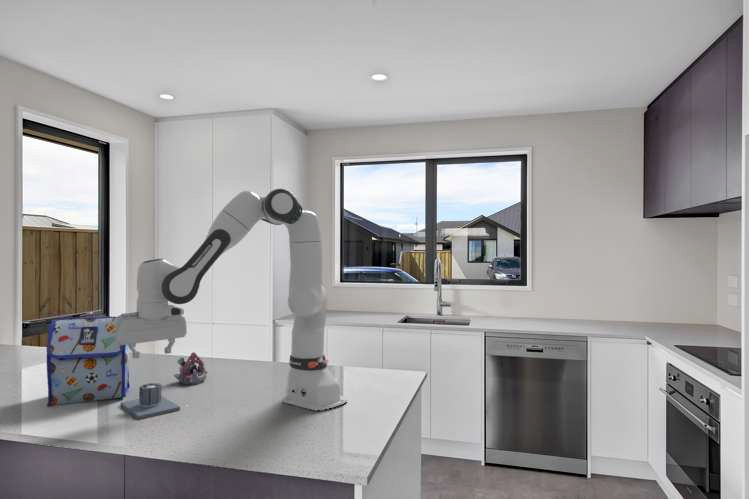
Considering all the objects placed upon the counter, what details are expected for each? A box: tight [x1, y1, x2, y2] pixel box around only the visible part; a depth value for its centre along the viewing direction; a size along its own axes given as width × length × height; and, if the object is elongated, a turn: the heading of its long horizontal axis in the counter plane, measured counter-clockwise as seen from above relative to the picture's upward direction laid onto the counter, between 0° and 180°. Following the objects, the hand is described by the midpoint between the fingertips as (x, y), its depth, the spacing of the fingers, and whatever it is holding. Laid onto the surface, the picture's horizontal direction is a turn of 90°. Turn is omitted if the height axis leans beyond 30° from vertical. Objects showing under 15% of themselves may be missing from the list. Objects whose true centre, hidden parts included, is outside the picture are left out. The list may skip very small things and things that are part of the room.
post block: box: [120, 386, 181, 420], centre depth 142 cm, size 16×12×6 cm
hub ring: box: [138, 382, 163, 405], centre depth 142 cm, size 6×6×5 cm
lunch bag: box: [46, 315, 131, 407], centre depth 150 cm, size 23×17×27 cm
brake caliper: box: [173, 351, 208, 385], centre depth 172 cm, size 11×11×12 cm
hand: (152, 355), depth 142 cm, fingers open, 8 cm apart
